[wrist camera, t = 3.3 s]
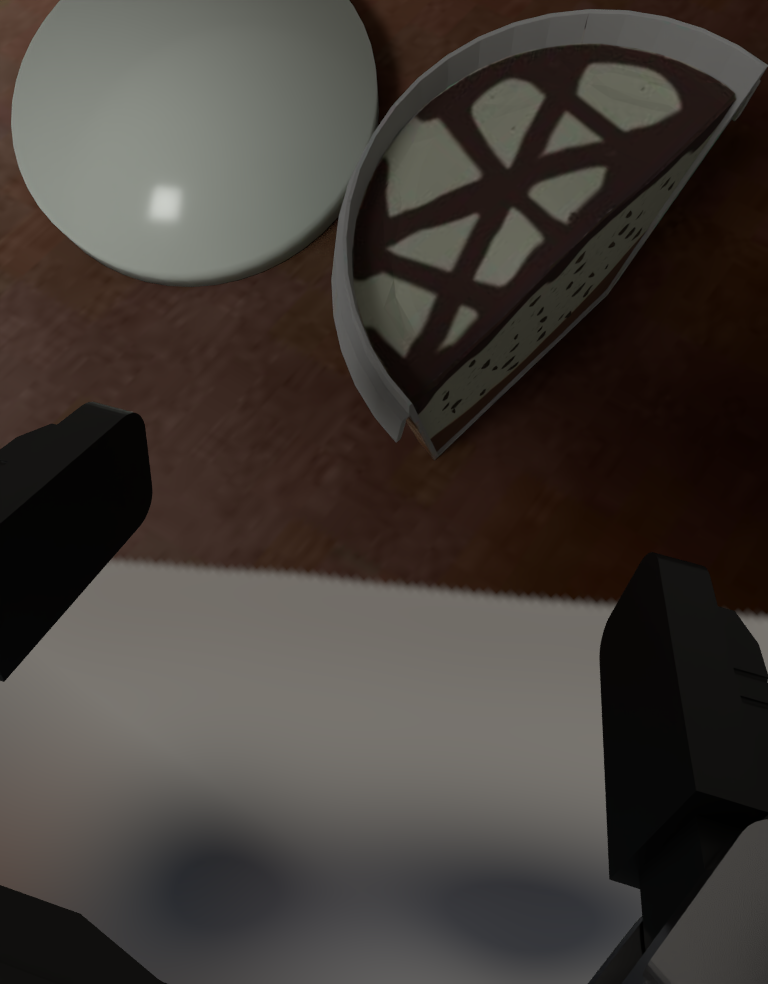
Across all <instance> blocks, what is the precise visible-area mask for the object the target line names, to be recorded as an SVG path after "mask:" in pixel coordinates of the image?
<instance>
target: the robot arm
mask: <svg viewBox="0 0 768 984" xmlns="http://www.w3.org/2000/svg"><path fill="white" fill-rule="evenodd" d="M151 500H152V481H151V473H150V464H149V456H148V447H147V439H146V430H145V424H144V421H143V419H142V417H141V416H140V415H139V414H137V413H133V412H129V411H126V410H122V409H118V408H114V407H111V406H107V405H103V404H99V403H96V402H88V403H86V404H84V405H82V406H81V407H80V408H78V409H77V410H76V411H74V412H73V413H72V414H70V415H69V416H68V417H67V418H65V419H64V420H63V421H61V422H60V423H59V424H57V425H55V424H49V425H47V426H44V427H42V428H39V429H37V430H34V431H32V432H29V433H26V434H24V435H21V436H19V437H17V438H15V439H14V440H12V441H11V442H10V443H8V444H7V445H6V446H4V447H3V448H2V449H0V681H3V682H4V681H5V680H6V679H7V678H8V677H9V676H10V674H11V673H12V672H13V671H14V670H15V669H16V668H17V666H18V665H19V664H20V663H21V662H22V661H23V659H24V658H25V657H26V656H27V655H28V654H29V653H30V651H31V650H32V649H33V648H34V647H35V646H36V645H37V644H38V642H39V641H40V640H41V639H42V638H43V637H44V635H45V634H46V633H47V632H48V631H49V630H50V629H51V627H52V626H53V625H54V624H55V623H56V622H57V621H58V619H59V618H60V617H61V616H62V615H63V614H64V613H65V611H66V610H67V609H68V608H69V607H70V606H71V605H72V603H73V602H74V601H75V600H76V599H77V598H78V596H79V595H80V594H81V593H82V592H83V591H84V590H85V588H86V587H87V586H88V585H89V584H90V583H91V582H92V580H93V579H94V578H95V577H96V576H97V575H98V574H99V572H100V571H101V570H102V569H103V568H104V567H105V566H106V564H107V563H108V562H109V561H110V560H111V559H112V558H113V556H114V555H115V554H116V553H117V552H118V551H119V549H120V548H121V547H122V546H123V545H124V544H125V543H126V541H127V540H128V539H129V538H130V537H131V536H132V535H133V533H134V532H135V531H136V530H137V529H138V528H139V527H140V525H141V524H142V523H143V521H144V519H145V517H146V515H147V513H148V511H149V508H150V505H151ZM600 681H601V703H602V725H603V747H604V769H605V791H606V813H607V836H608V858H609V879H610V880H613V881H616V882H619V883H623V884H626V885H629V886H632V887H635V888H638V889H640V892H641V905H642V917H640V918H639V919H638V920H637V921H636V922H635V923H634V925H633V926H632V928H631V929H630V930H629V931H628V932H627V934H626V935H625V936H624V938H623V939H622V940H621V942H620V943H619V944H618V945H617V947H616V948H615V949H614V950H613V952H612V953H611V954H610V956H609V957H608V958H607V960H606V961H605V962H604V963H603V965H602V966H601V967H600V969H599V970H598V971H597V972H596V974H595V975H594V976H593V978H592V979H591V980H590V981H589V983H588V984H768V683H767V681H768V674H767V670H766V667H765V664H764V660H763V657H762V654H761V650H760V647H759V644H758V643H757V641H756V640H755V639H754V637H753V636H752V634H751V633H750V632H749V630H748V629H747V627H746V626H745V625H744V623H743V622H742V621H741V619H740V618H739V616H738V615H737V614H736V612H735V611H732V610H729V609H725V608H721V607H718V606H717V602H716V598H715V594H714V590H713V586H712V582H711V578H710V575H709V572H708V570H707V568H705V567H704V566H702V565H698V564H694V563H690V562H687V561H683V560H679V559H675V558H672V557H668V556H664V555H660V554H657V553H653V552H651V553H648V554H647V555H646V556H645V557H644V558H643V560H642V561H641V563H640V564H639V566H638V568H637V570H636V571H635V573H634V575H633V577H632V578H631V580H630V582H629V584H628V585H627V587H626V589H625V591H624V592H623V594H622V596H621V598H620V599H619V601H618V603H617V604H616V606H615V608H614V610H613V611H612V613H611V615H610V617H609V619H608V621H607V623H606V626H605V629H604V632H603V636H602V640H601V645H600ZM0 984H167V983H164V982H162V981H160V980H159V979H157V978H156V977H155V976H154V975H152V974H151V973H150V972H149V971H148V970H146V969H145V968H144V967H143V966H142V965H141V964H139V963H138V962H137V961H136V960H135V959H133V958H132V957H131V956H130V955H129V954H127V953H126V952H125V951H124V950H123V949H122V948H120V947H119V946H118V945H117V944H115V943H114V942H113V941H112V940H111V939H110V938H108V937H107V936H106V935H105V934H104V933H102V932H101V931H100V930H99V929H98V928H97V927H95V926H94V925H93V924H92V923H91V922H89V921H88V920H87V919H86V918H85V917H83V916H82V915H81V914H79V913H77V912H74V911H71V910H68V909H65V908H62V907H59V906H57V905H54V904H51V903H48V902H46V901H43V900H40V899H37V898H35V897H32V896H29V895H26V894H23V893H21V892H18V891H15V890H12V889H9V888H7V887H4V886H1V885H0Z"/></svg>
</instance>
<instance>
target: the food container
mask: <svg viewBox="0 0 768 984" xmlns="http://www.w3.org/2000/svg"><path fill="white" fill-rule="evenodd" d="M767 67H768V65H767V64H765V63H764V62H762V61H761V60H759V59H758V58H756V57H755V56H753V55H752V54H750V53H749V52H747V51H746V50H744V49H743V48H741V47H740V46H738V45H736V44H734V43H732V42H730V41H728V40H726V39H724V38H722V37H720V36H718V35H716V34H713V33H711V32H709V31H707V30H705V29H703V28H700V27H697V26H693V25H690V24H687V23H684V22H681V21H678V20H674V19H671V18H668V17H664V16H658V15H652V14H646V13H640V12H634V11H628V10H595V9H588V10H578V11H569V12H560V13H551V14H547V15H543V16H539V17H535V18H531V19H527V20H523V21H519V22H515V23H512V24H509V25H507V26H504V27H502V28H499V29H497V30H494V31H492V32H490V33H487V34H485V35H482V36H480V37H478V38H476V39H474V40H472V41H471V42H469V43H467V44H466V45H464V46H462V47H460V48H459V49H457V50H455V51H453V52H452V53H450V54H448V55H447V56H445V57H444V58H443V59H442V60H440V61H439V62H438V63H436V64H435V65H434V66H433V67H431V68H430V69H429V70H428V71H426V72H425V73H424V74H423V75H421V76H420V77H419V78H418V79H417V80H416V81H415V82H414V83H413V84H412V85H411V86H410V87H409V88H408V89H407V90H406V91H405V92H404V93H403V95H402V96H401V97H400V98H399V99H398V100H397V101H396V102H395V103H394V104H393V105H392V107H391V108H390V110H389V111H388V113H387V114H386V116H385V117H384V118H383V120H382V121H381V123H380V124H379V126H378V127H377V129H376V130H375V132H374V133H373V135H372V136H371V139H370V141H369V143H368V144H367V146H366V147H365V149H364V151H363V153H362V155H361V157H360V159H359V161H358V163H357V165H356V167H355V170H354V172H353V174H352V176H351V178H350V180H349V183H348V186H347V190H346V193H345V197H344V200H343V203H342V207H341V210H340V214H339V219H338V228H337V236H336V244H335V252H334V262H333V271H332V298H333V316H334V320H335V325H336V329H337V334H338V338H339V343H340V347H341V351H342V354H343V356H344V359H345V361H346V364H347V366H348V369H349V371H350V374H351V376H352V379H353V381H354V384H355V386H356V387H357V389H358V391H359V392H360V394H361V396H362V397H363V399H364V400H365V402H366V404H367V405H368V407H369V409H370V410H371V412H372V414H373V415H374V417H375V418H376V419H377V420H378V422H379V423H380V424H381V425H382V426H383V428H384V429H385V430H386V431H387V432H388V433H389V435H390V436H391V437H392V438H393V439H394V441H395V442H397V441H398V440H400V439H401V436H402V432H403V429H404V426H405V422H407V423H408V425H409V427H410V428H411V430H412V432H413V433H414V435H415V437H416V438H417V440H418V441H419V443H420V444H421V446H422V447H423V448H424V449H425V450H426V451H427V453H428V454H429V455H430V456H431V457H432V458H433V459H434V460H435V459H436V458H437V457H439V456H440V455H441V454H442V453H443V452H444V451H445V450H446V449H447V448H448V447H449V446H450V445H451V444H452V443H453V442H454V441H455V440H456V439H457V438H458V437H459V436H460V435H462V434H463V433H464V432H465V431H466V430H467V429H468V428H469V427H470V426H471V425H472V424H473V423H474V422H475V421H476V420H477V419H478V418H479V417H480V416H481V415H482V414H484V413H485V412H486V411H487V410H488V409H489V408H490V407H491V406H492V405H493V404H494V403H495V402H496V401H497V400H498V399H499V398H500V397H501V396H502V395H503V394H504V393H505V392H507V391H508V390H509V389H510V388H511V387H512V386H513V385H514V384H515V383H516V382H517V381H518V380H519V379H520V378H521V377H522V376H523V375H524V374H525V373H526V372H527V371H528V370H530V369H531V368H532V367H533V366H534V365H535V364H536V363H537V362H538V361H539V360H540V359H541V358H542V357H543V356H544V355H545V354H546V353H547V352H548V351H549V350H550V349H551V348H553V347H554V346H555V345H556V344H557V343H558V342H559V341H560V340H561V339H562V338H563V337H564V336H565V335H566V334H567V333H568V332H569V331H570V330H571V329H572V328H573V327H575V326H576V325H577V324H578V323H579V322H580V321H581V320H582V319H583V318H584V317H585V316H586V315H587V314H588V313H589V312H590V311H591V310H592V309H593V308H594V307H595V306H596V305H598V304H599V303H600V302H601V301H602V300H603V299H604V298H605V297H606V296H607V295H608V294H609V292H610V291H611V290H612V288H613V287H614V285H615V284H616V283H617V281H618V280H619V278H620V277H621V275H622V274H623V273H624V271H625V270H626V268H627V267H628V265H629V264H630V263H631V261H632V260H633V258H634V257H635V256H636V254H637V253H638V251H639V250H640V248H641V247H642V246H643V244H644V243H645V241H646V240H647V238H648V237H649V236H650V234H651V233H652V231H653V230H654V229H655V227H656V226H657V224H658V223H659V221H660V220H661V219H662V217H663V216H664V214H665V213H666V211H667V210H668V209H669V207H670V206H671V204H672V203H673V202H674V200H675V199H676V197H677V196H678V194H679V193H680V192H681V190H682V189H683V187H684V186H685V184H686V183H687V182H688V180H689V179H690V177H691V176H692V174H693V173H694V172H695V170H696V169H697V167H698V166H699V165H700V163H701V162H702V160H703V159H704V157H705V156H706V155H707V153H708V152H709V150H710V149H711V147H712V146H713V145H714V143H715V142H716V140H717V139H718V138H719V136H720V135H721V133H722V132H723V130H724V129H725V128H726V126H727V125H728V123H729V122H730V120H731V119H732V120H733V121H735V120H736V119H737V118H738V117H739V116H740V115H741V113H742V111H743V110H744V108H745V106H746V105H747V103H748V101H749V100H750V98H751V96H752V95H753V93H754V91H755V90H756V88H757V86H758V85H759V83H760V81H761V80H759V79H760V77H761V76H762V74H763V73H764V71H765V70H766V68H767Z"/></svg>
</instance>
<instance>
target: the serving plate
mask: <svg viewBox="0 0 768 984" xmlns="http://www.w3.org/2000/svg"><path fill="white" fill-rule="evenodd" d="M378 119H379V101H378V86H377V76H376V66H375V61H374V56H373V52H372V47H371V43H370V41H369V38H368V35H367V32H366V30H365V27H364V24H363V23H362V21H361V19H360V17H359V15H358V13H357V12H356V10H355V8H354V6H353V5H352V3H351V2H350V1H349V0H60V1H59V2H58V4H57V5H56V6H55V7H54V9H53V10H52V11H51V12H50V14H49V15H48V16H47V17H46V19H45V20H44V21H43V23H42V24H41V26H40V28H39V29H38V31H37V33H36V34H35V36H34V37H33V39H32V41H31V43H30V45H29V47H28V50H27V52H26V54H25V56H24V58H23V61H22V64H21V67H20V70H19V73H18V76H17V80H16V84H15V89H14V95H13V101H12V120H11V127H12V136H13V146H14V150H15V154H16V158H17V162H18V166H19V169H20V171H21V174H22V176H23V178H24V181H25V183H26V186H27V188H28V189H29V191H30V193H31V194H32V196H33V198H34V199H35V201H36V203H37V204H38V206H39V207H40V208H41V210H42V211H43V212H44V213H45V214H46V216H47V217H48V218H49V219H50V220H51V222H52V223H53V224H54V225H55V226H56V227H58V228H59V229H60V230H61V231H62V232H63V233H64V234H65V235H66V236H67V237H68V238H69V239H70V240H71V241H72V242H74V243H75V244H76V245H77V246H78V247H79V248H80V249H81V250H83V251H84V252H85V253H86V254H87V255H89V256H90V257H92V258H93V259H95V260H96V261H98V262H99V263H101V264H103V265H104V266H106V267H108V268H110V269H112V270H115V271H117V272H119V273H121V274H123V275H126V276H129V277H132V278H135V279H138V280H141V281H144V282H149V283H155V284H160V285H166V286H182V287H197V286H209V285H218V284H223V283H227V282H232V281H237V280H241V279H244V278H247V277H250V276H252V275H255V274H258V273H261V272H264V271H266V270H268V269H270V268H272V267H274V266H276V265H278V264H280V263H282V262H284V261H286V260H287V259H289V258H290V257H292V256H294V255H295V254H297V253H298V252H300V251H301V250H303V249H304V248H306V247H307V246H308V245H309V244H310V243H312V242H313V241H314V240H315V239H316V238H318V237H319V236H320V235H321V234H322V233H324V231H325V230H326V229H327V228H328V227H329V226H330V225H331V224H332V223H333V222H334V221H335V220H336V219H337V218H338V216H339V214H340V210H341V207H342V203H343V200H344V197H345V193H346V190H347V186H348V183H349V180H350V178H351V176H352V174H353V172H354V170H355V167H356V165H357V163H358V161H359V159H360V157H361V155H362V153H363V151H364V149H365V147H366V146H367V144H368V143H369V141H370V139H371V136H372V135H373V133H374V132H375V130H376V129H377V127H378Z"/></svg>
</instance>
